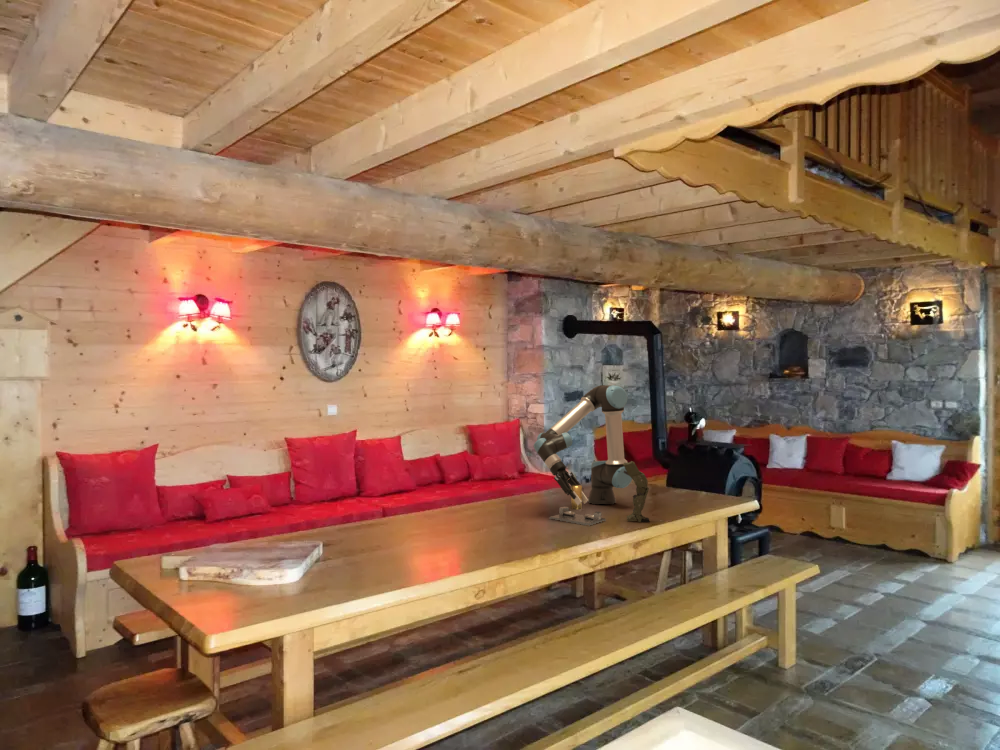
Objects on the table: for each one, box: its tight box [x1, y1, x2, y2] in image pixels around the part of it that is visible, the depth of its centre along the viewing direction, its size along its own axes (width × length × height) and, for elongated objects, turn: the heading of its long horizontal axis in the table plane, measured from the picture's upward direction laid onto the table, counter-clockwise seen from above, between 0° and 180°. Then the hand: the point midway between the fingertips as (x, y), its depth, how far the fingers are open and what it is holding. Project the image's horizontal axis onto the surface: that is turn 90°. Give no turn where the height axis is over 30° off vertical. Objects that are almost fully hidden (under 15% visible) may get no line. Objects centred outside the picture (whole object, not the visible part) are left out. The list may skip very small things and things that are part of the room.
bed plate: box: [549, 506, 607, 527], centre depth 344 cm, size 23×14×5 cm, turn 50°
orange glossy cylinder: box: [570, 484, 583, 510], centre depth 344 cm, size 5×5×11 cm
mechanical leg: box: [623, 460, 651, 523], centre depth 343 cm, size 14×7×30 cm, turn 84°
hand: (583, 502), depth 341 cm, fingers closed on orange glossy cylinder, 5 cm apart
